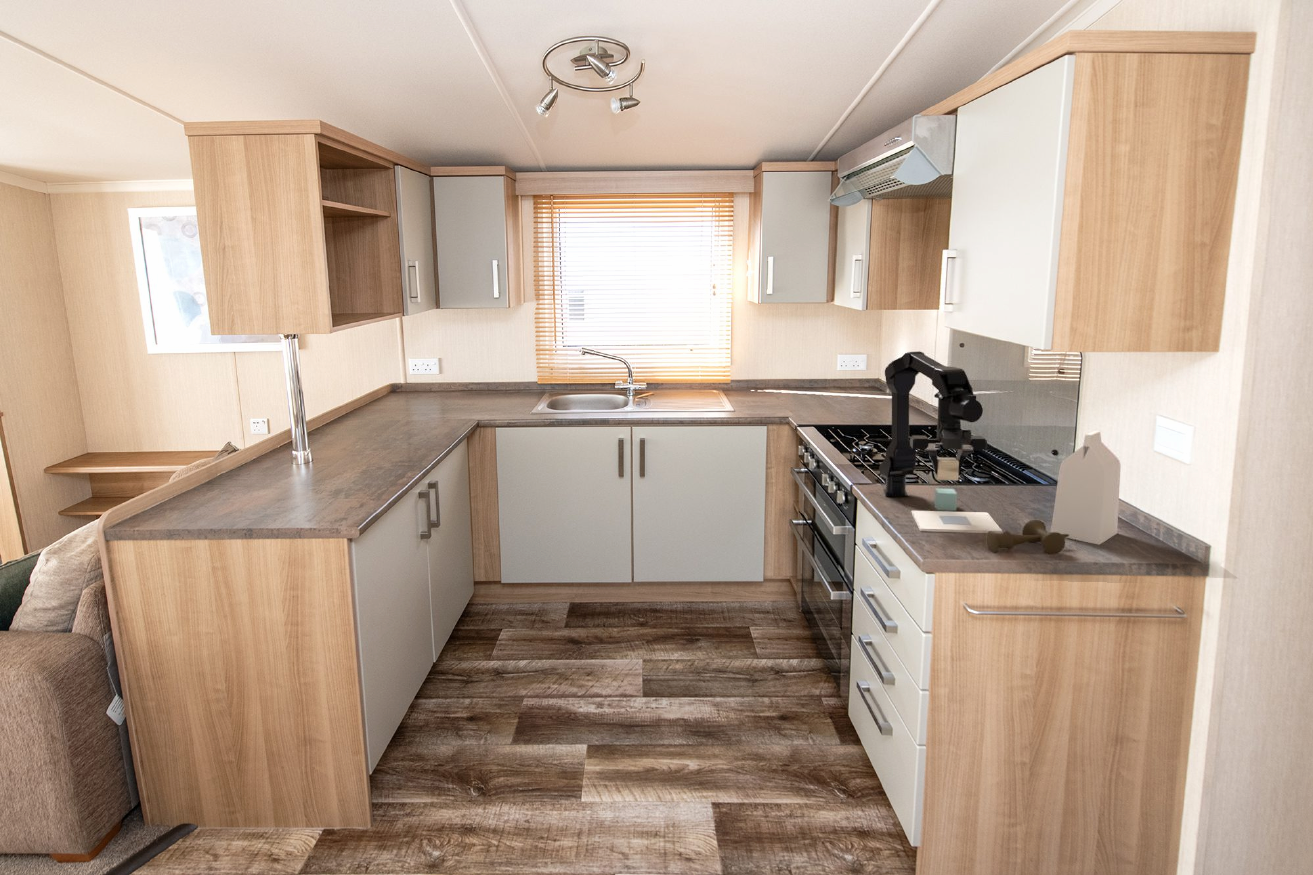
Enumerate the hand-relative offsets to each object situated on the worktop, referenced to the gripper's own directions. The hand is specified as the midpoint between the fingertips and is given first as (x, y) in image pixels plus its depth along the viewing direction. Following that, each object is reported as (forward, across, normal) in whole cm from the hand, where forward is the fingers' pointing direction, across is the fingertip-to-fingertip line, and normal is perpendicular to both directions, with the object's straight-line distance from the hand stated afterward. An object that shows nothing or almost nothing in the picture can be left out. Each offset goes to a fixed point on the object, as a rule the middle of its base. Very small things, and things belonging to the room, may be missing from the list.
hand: (946, 474), depth 215 cm
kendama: (+14, +16, -22) cm, 30 cm away
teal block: (+12, +2, +11) cm, 17 cm away
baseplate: (+13, +2, -3) cm, 13 cm away
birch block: (+1, 0, 0) cm, 1 cm away
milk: (+13, +32, -9) cm, 36 cm away
